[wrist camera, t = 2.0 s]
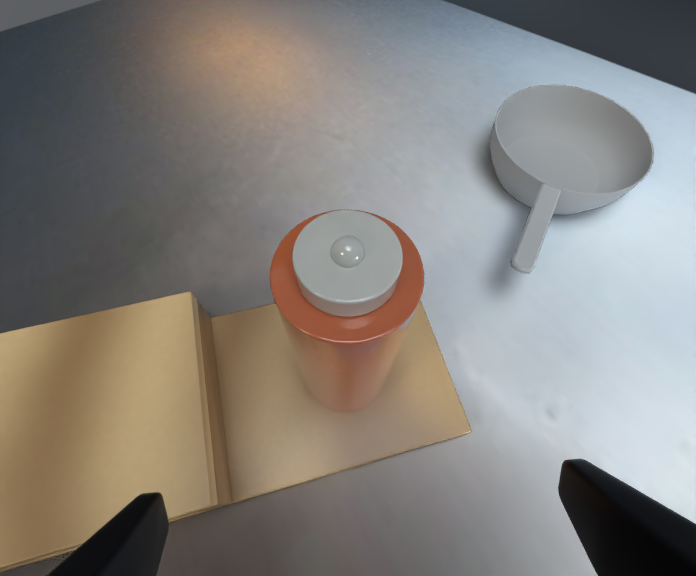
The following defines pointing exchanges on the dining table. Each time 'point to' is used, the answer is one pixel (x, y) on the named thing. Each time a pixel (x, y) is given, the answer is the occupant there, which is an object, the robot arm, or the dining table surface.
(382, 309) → the pepper mill
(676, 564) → the robot arm
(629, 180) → the saucepan
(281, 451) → the stand
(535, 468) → the dining table surface
